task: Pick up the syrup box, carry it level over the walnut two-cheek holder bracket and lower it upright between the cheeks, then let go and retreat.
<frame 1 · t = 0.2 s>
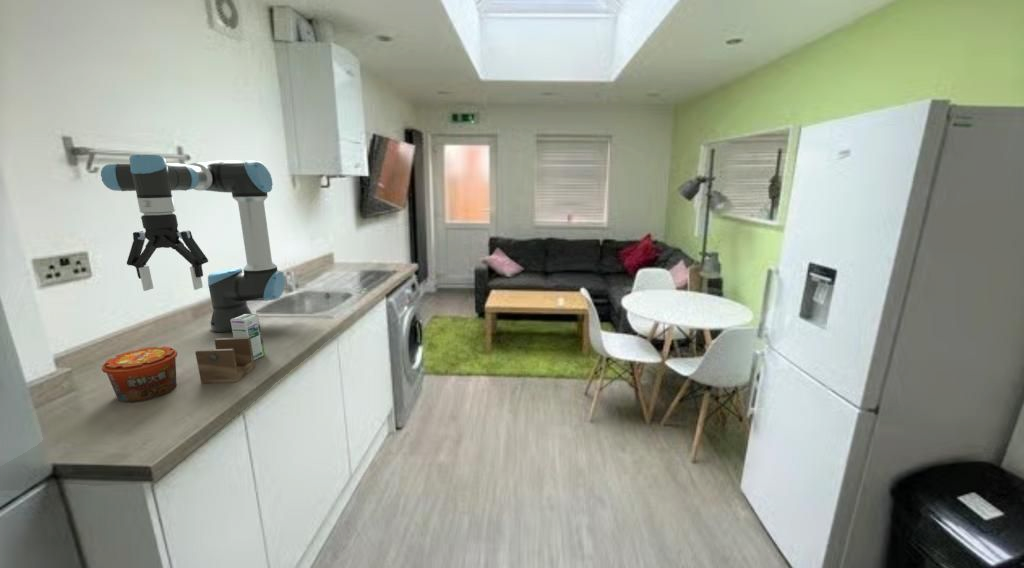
hand: (173, 289, 122), 28 cm above the worktop, fingers open, 13 cm apart
holder: (229, 374, 131), on the worktop
food container: (148, 392, 121), on the worktop
syrup box: (251, 358, 144), on the worktop
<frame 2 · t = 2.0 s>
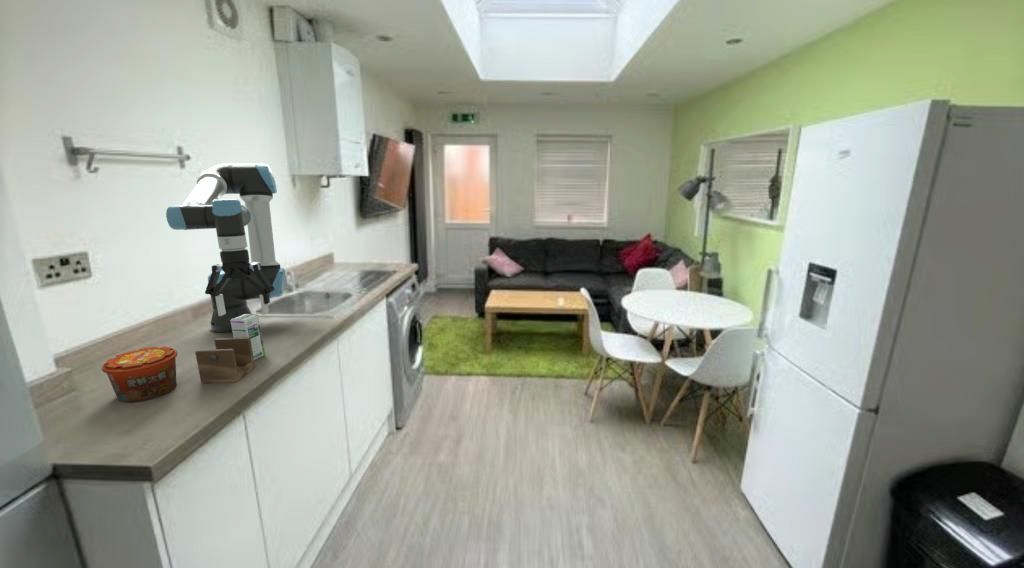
hand: (244, 314, 140), 15 cm above the worktop, fingers open, 13 cm apart
nothing on the worktop moved.
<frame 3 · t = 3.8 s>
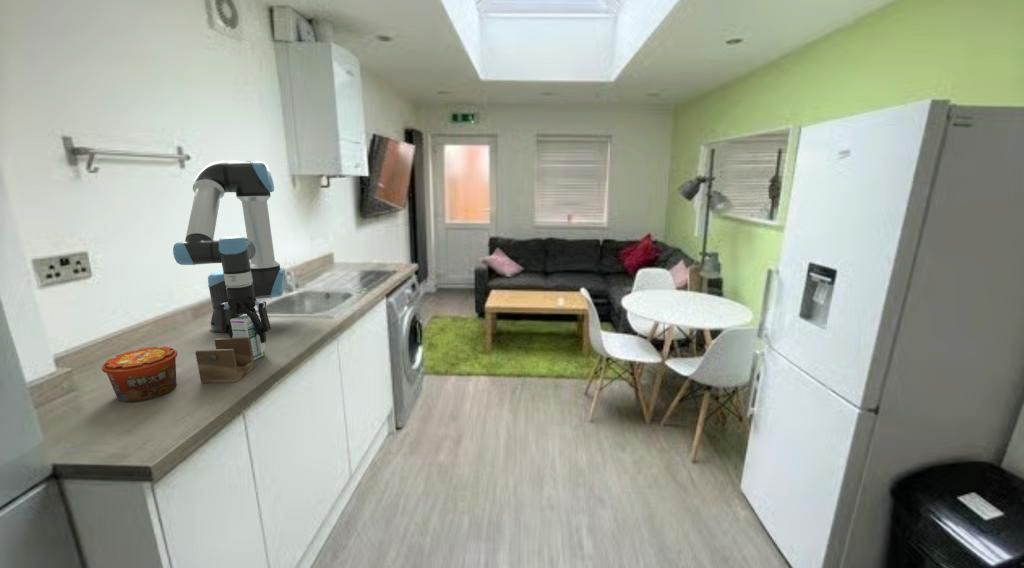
hand: (250, 352, 143), 2 cm above the worktop, fingers closed on syrup box, 7 cm apart
syrup box: (251, 358, 144), on the worktop, touching gripper
everything else where it was.
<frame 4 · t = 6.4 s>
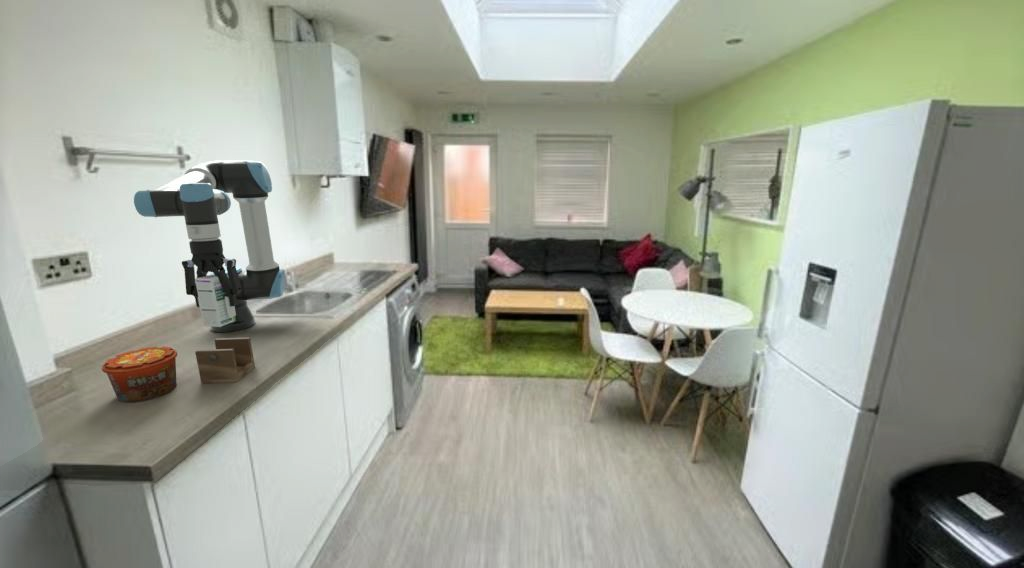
hand: (219, 316, 127), 19 cm above the worktop, fingers closed on syrup box, 7 cm apart
syrup box: (219, 324, 127), point 16 cm above the worktop, touching gripper
everything else where it was.
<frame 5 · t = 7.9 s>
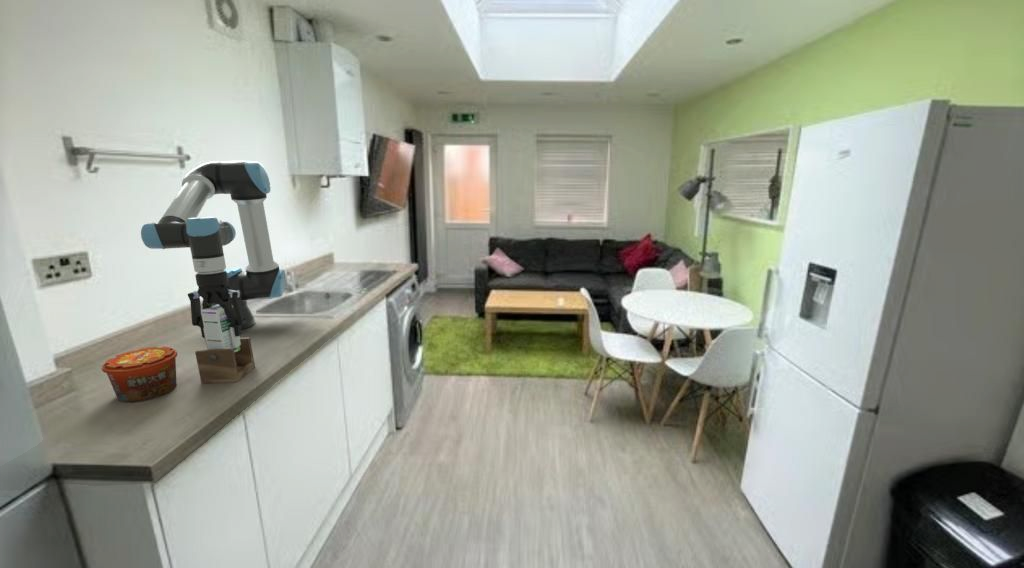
hand: (224, 346, 129), 9 cm above the worktop, fingers closed on syrup box, 7 cm apart
syrup box: (225, 353, 129), point 7 cm above the worktop, touching gripper
everything else where it was.
when the fingers open (5 cm above the worktop, at t = 9.1 s): syrup box drops 2 cm, resting on holder.
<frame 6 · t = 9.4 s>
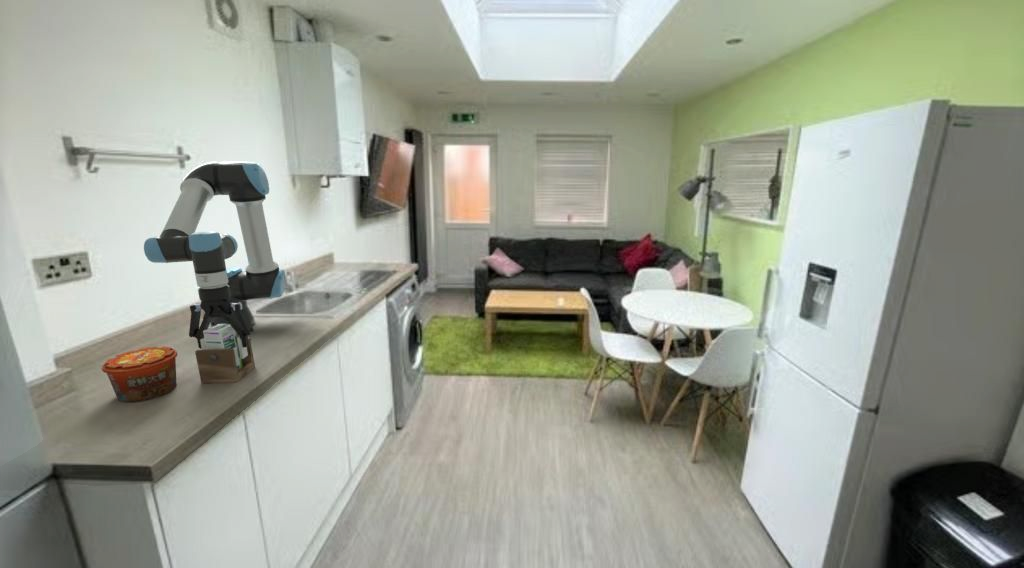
hand: (226, 357, 130), 6 cm above the worktop, fingers open, 10 cm apart
syrup box: (227, 372, 131), point 1 cm above the worktop, touching holder
everything else where it was.
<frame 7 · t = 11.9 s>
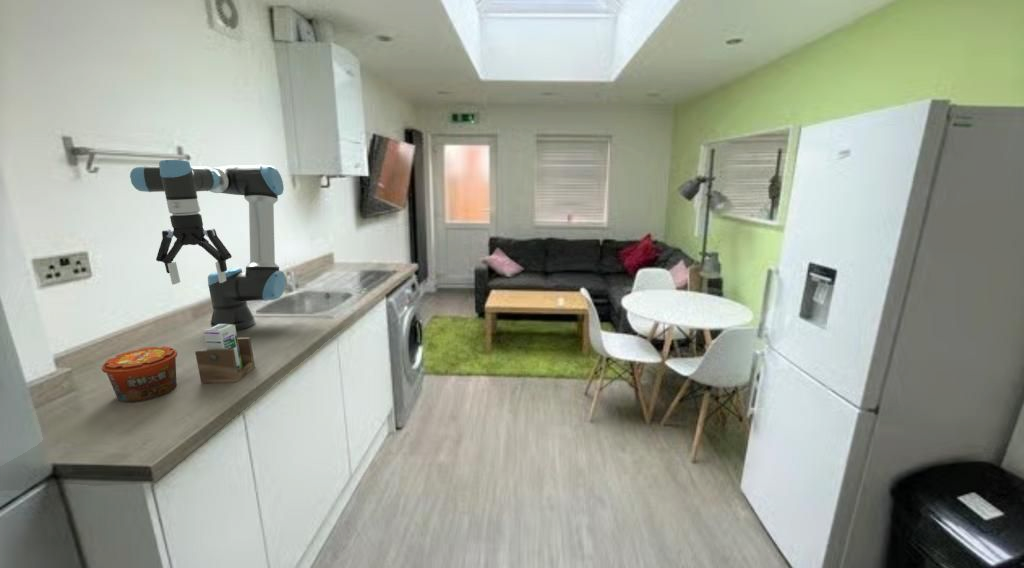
hand: (199, 282, 134), 27 cm above the worktop, fingers open, 13 cm apart
nothing on the worktop moved.
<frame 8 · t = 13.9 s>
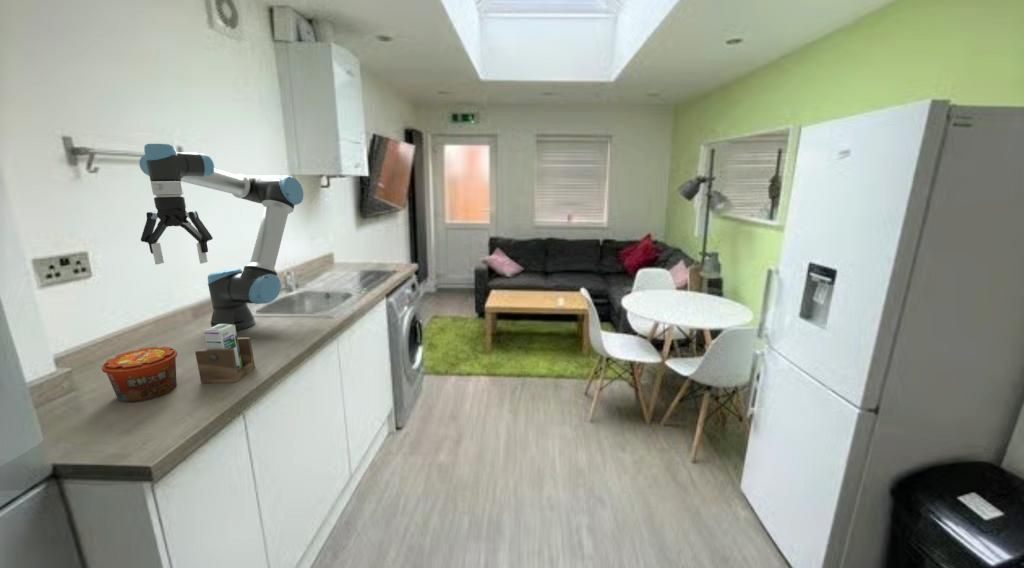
hand: (181, 263, 139), 32 cm above the worktop, fingers open, 13 cm apart
nothing on the worktop moved.
at the end: syrup box 0.3 cm off-centre on the holder, point 0.8 cm above the holder's base; syrup box tilted 0°; the gripper is holding nothing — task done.
